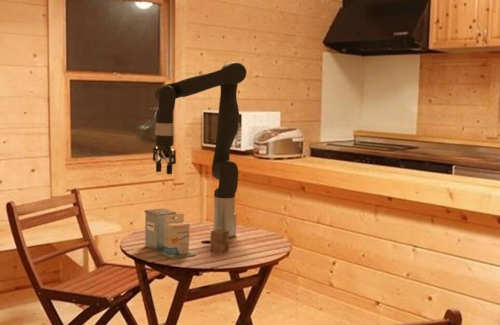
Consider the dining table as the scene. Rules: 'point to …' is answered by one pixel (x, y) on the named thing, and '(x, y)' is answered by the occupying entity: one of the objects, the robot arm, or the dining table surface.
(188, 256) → the pad
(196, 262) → the dining table surface
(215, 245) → the walnut block
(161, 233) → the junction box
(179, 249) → the ink box
